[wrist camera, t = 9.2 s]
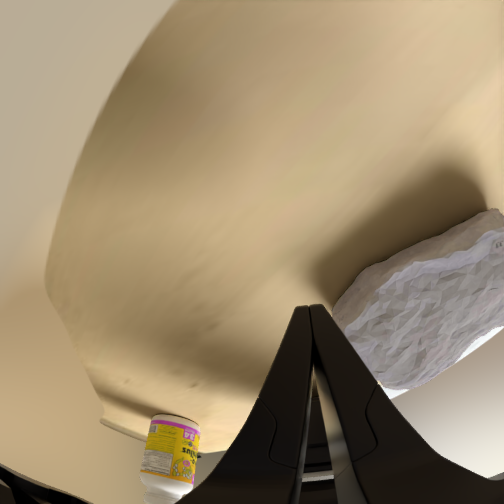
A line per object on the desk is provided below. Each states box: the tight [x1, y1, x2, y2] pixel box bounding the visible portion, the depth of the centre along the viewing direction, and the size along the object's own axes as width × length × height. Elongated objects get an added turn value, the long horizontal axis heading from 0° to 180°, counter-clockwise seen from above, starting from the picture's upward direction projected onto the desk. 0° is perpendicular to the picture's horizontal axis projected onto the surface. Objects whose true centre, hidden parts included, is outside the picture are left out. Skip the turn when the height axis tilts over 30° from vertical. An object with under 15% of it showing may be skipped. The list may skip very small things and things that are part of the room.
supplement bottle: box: [140, 414, 200, 504], centre depth 26 cm, size 7×7×13 cm
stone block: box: [332, 209, 504, 390], centre depth 13 cm, size 12×5×10 cm
